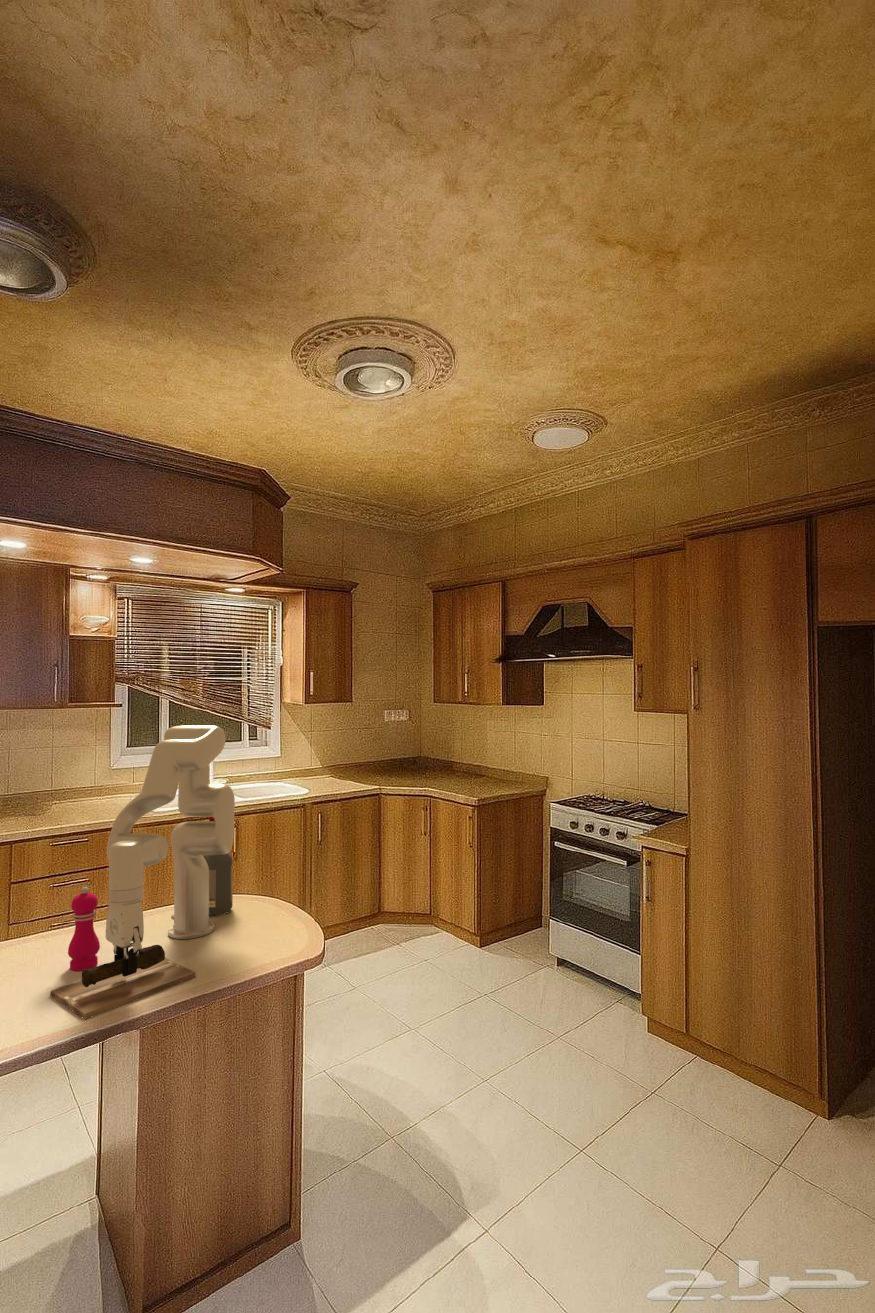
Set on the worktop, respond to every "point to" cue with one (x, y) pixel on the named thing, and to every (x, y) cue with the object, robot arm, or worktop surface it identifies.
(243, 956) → the worktop surface
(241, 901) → the worktop surface
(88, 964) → the pepper mill
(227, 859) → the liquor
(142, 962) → the hand tool
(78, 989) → the board
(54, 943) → the worktop surface
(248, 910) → the worktop surface
